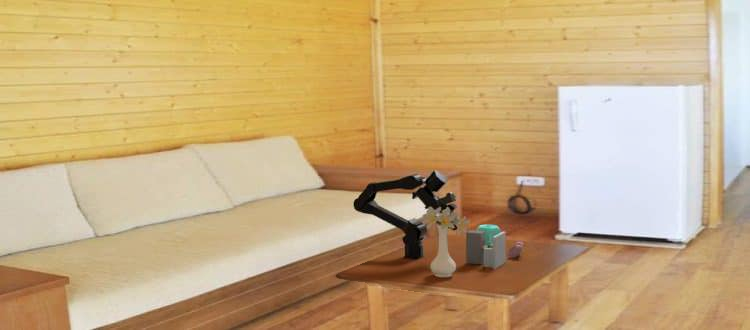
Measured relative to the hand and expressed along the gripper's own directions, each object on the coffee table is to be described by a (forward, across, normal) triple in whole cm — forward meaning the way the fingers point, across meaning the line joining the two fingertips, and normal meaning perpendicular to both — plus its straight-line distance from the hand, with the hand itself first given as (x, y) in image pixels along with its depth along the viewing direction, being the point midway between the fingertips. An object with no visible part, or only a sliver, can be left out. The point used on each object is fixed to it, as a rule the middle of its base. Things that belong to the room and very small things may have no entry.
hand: (456, 229), depth 333 cm
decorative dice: (+10, +34, +8) cm, 36 cm away
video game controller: (+22, +18, -4) cm, 29 cm away
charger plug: (+15, 0, +3) cm, 15 cm away
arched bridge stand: (+20, 0, -2) cm, 20 cm away
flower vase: (+12, -23, +6) cm, 26 cm away
